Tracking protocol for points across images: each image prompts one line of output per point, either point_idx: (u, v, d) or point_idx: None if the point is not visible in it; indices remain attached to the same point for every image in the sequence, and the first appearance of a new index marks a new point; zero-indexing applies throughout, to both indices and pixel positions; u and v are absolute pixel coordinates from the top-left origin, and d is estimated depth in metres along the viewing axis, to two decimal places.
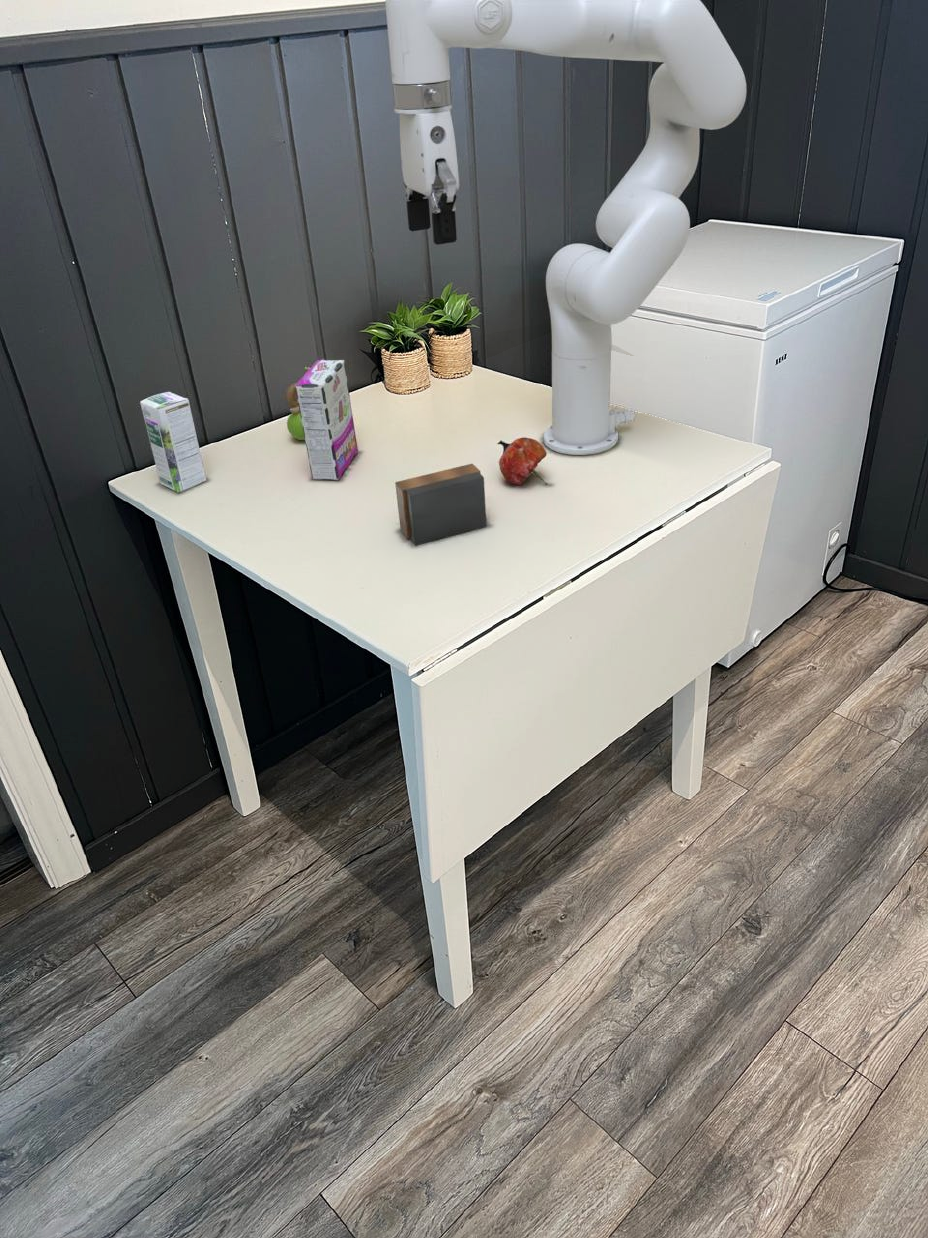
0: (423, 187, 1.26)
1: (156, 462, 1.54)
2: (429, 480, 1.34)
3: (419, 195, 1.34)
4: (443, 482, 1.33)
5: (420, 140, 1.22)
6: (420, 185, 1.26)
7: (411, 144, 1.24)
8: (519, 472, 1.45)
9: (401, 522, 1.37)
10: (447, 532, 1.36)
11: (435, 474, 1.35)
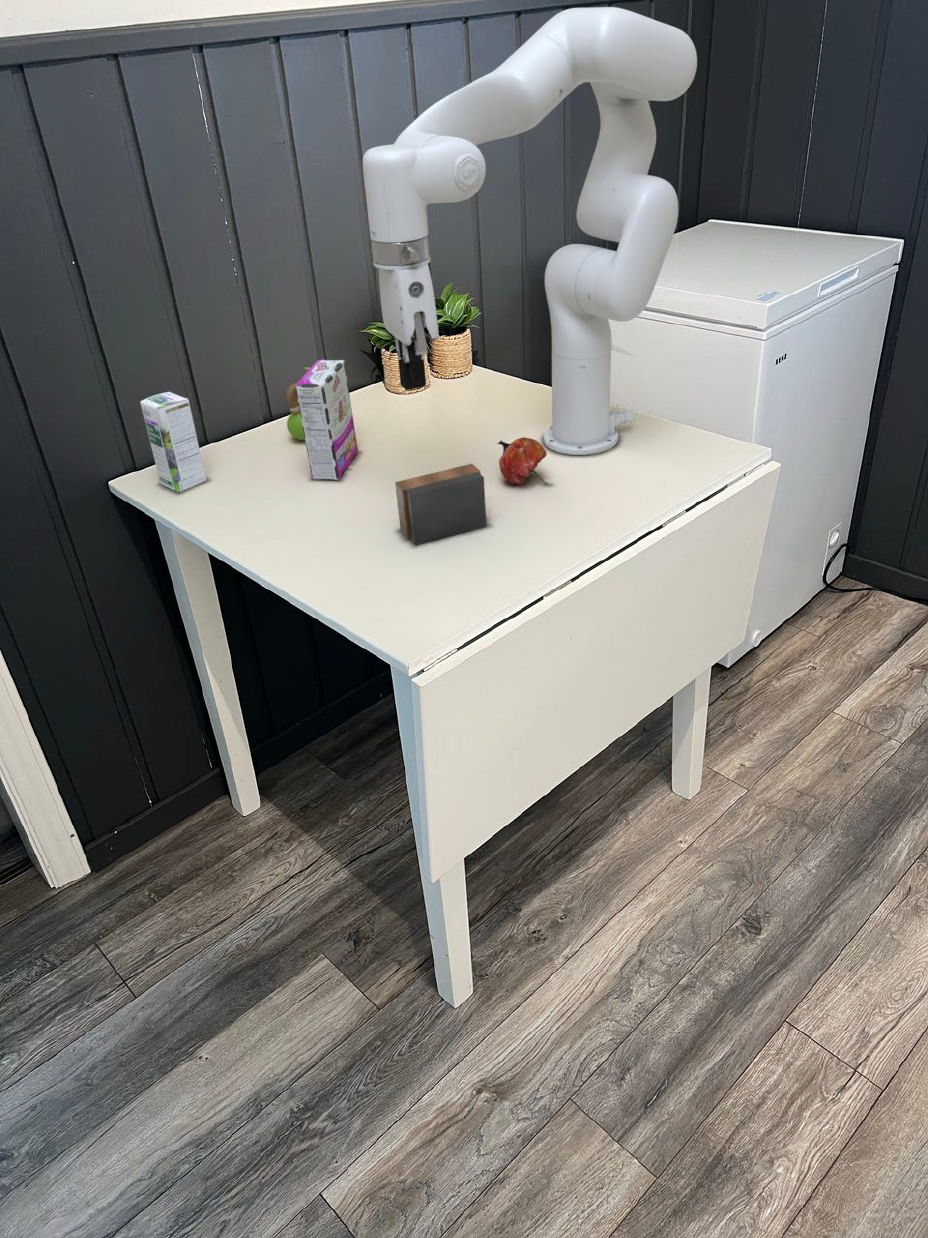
0: (402, 337, 1.26)
1: (156, 462, 1.54)
2: (429, 480, 1.34)
3: None
4: (443, 482, 1.33)
5: (399, 294, 1.22)
6: (399, 335, 1.26)
7: (390, 296, 1.24)
8: (519, 472, 1.45)
9: (401, 522, 1.37)
10: (447, 532, 1.36)
11: (435, 474, 1.35)
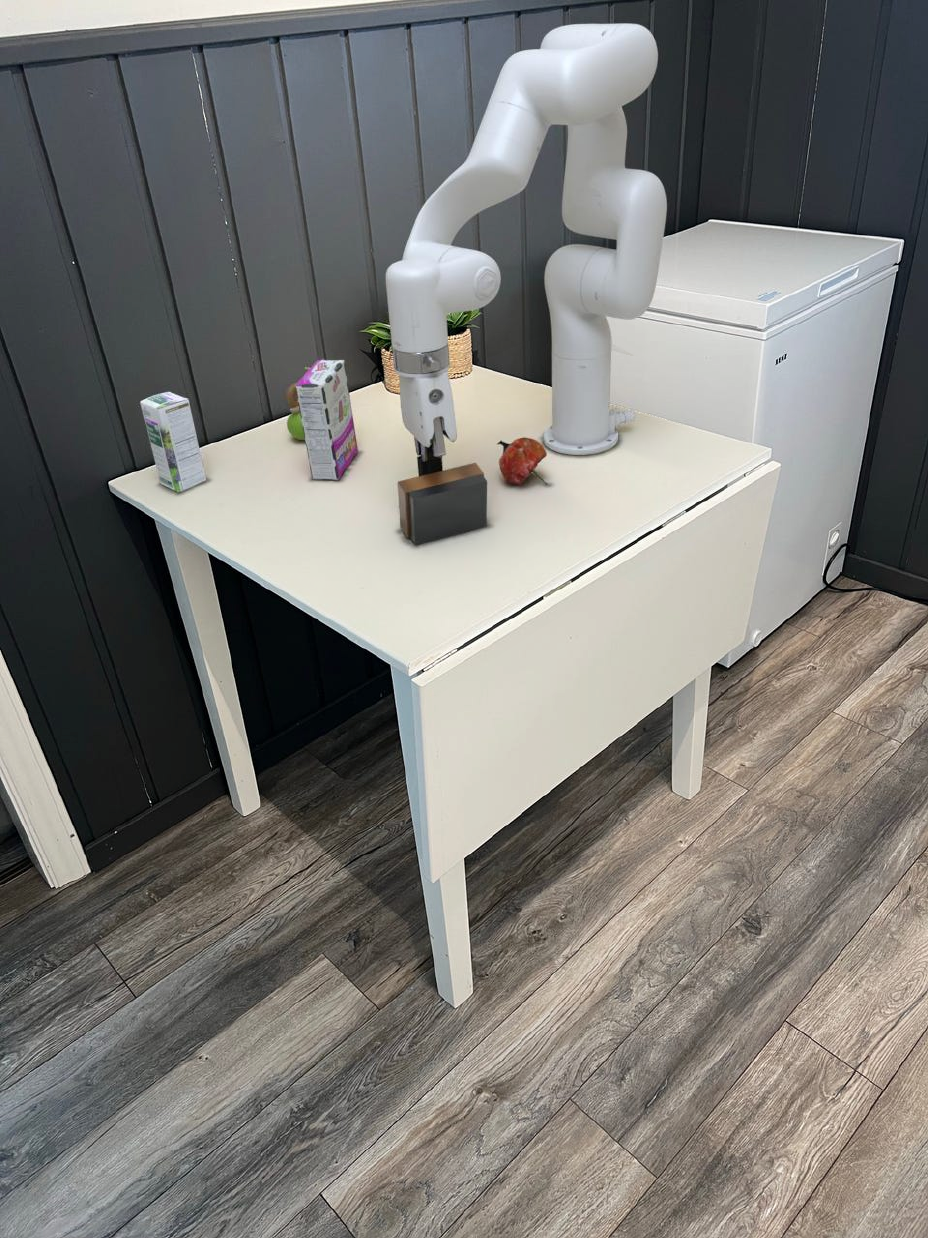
0: (422, 440, 1.29)
1: (156, 462, 1.54)
2: (432, 481, 1.32)
3: None
4: (446, 485, 1.32)
5: (419, 401, 1.26)
6: (418, 437, 1.30)
7: (410, 400, 1.28)
8: (519, 472, 1.45)
9: (401, 520, 1.36)
10: (447, 533, 1.36)
11: (438, 474, 1.34)
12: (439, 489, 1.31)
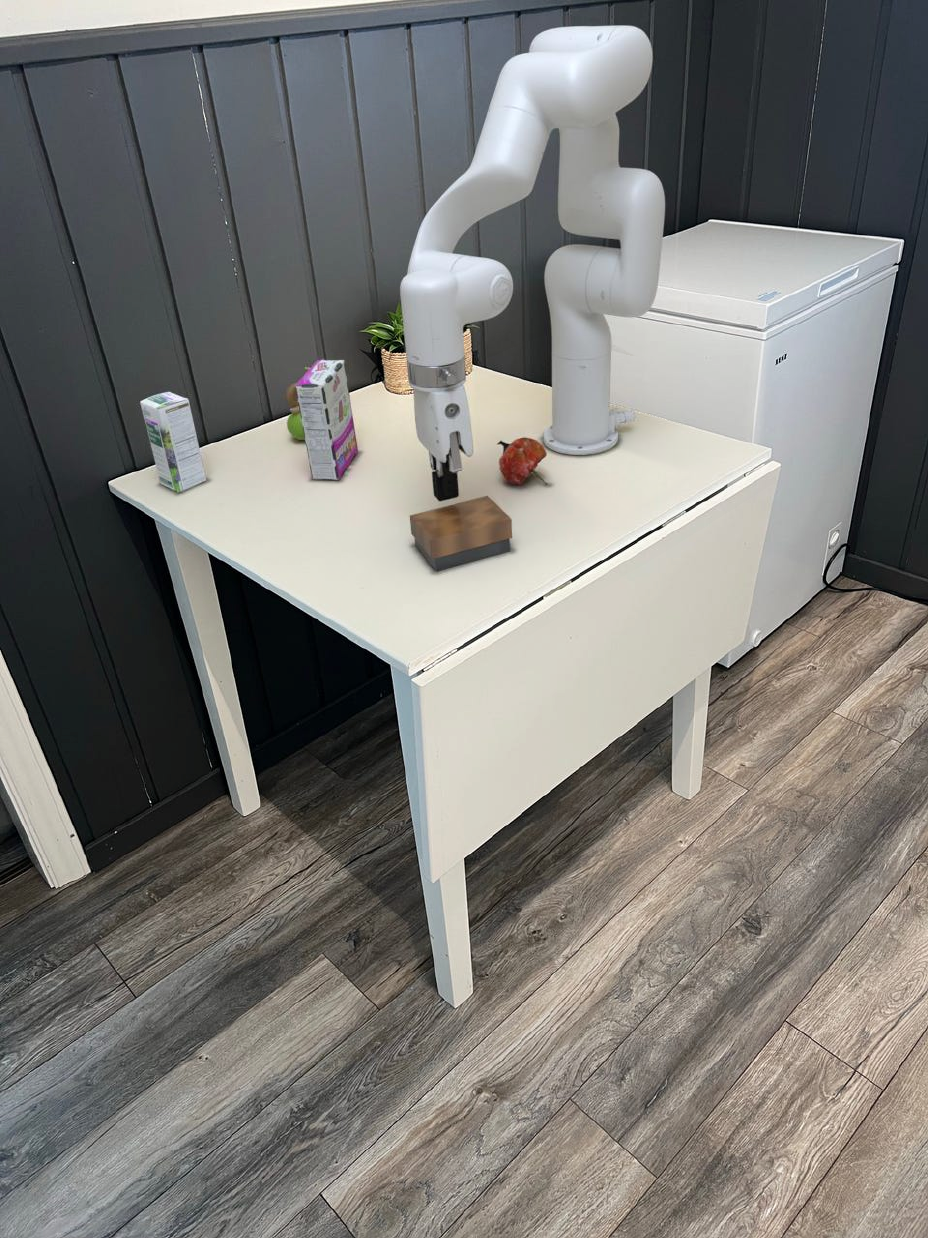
0: (437, 455, 1.25)
1: (156, 462, 1.54)
2: (462, 545, 1.28)
3: None
4: (472, 552, 1.29)
5: (435, 415, 1.22)
6: (434, 452, 1.26)
7: (425, 414, 1.24)
8: (519, 472, 1.45)
9: (414, 527, 1.31)
10: None
11: (471, 534, 1.28)
12: (464, 558, 1.29)
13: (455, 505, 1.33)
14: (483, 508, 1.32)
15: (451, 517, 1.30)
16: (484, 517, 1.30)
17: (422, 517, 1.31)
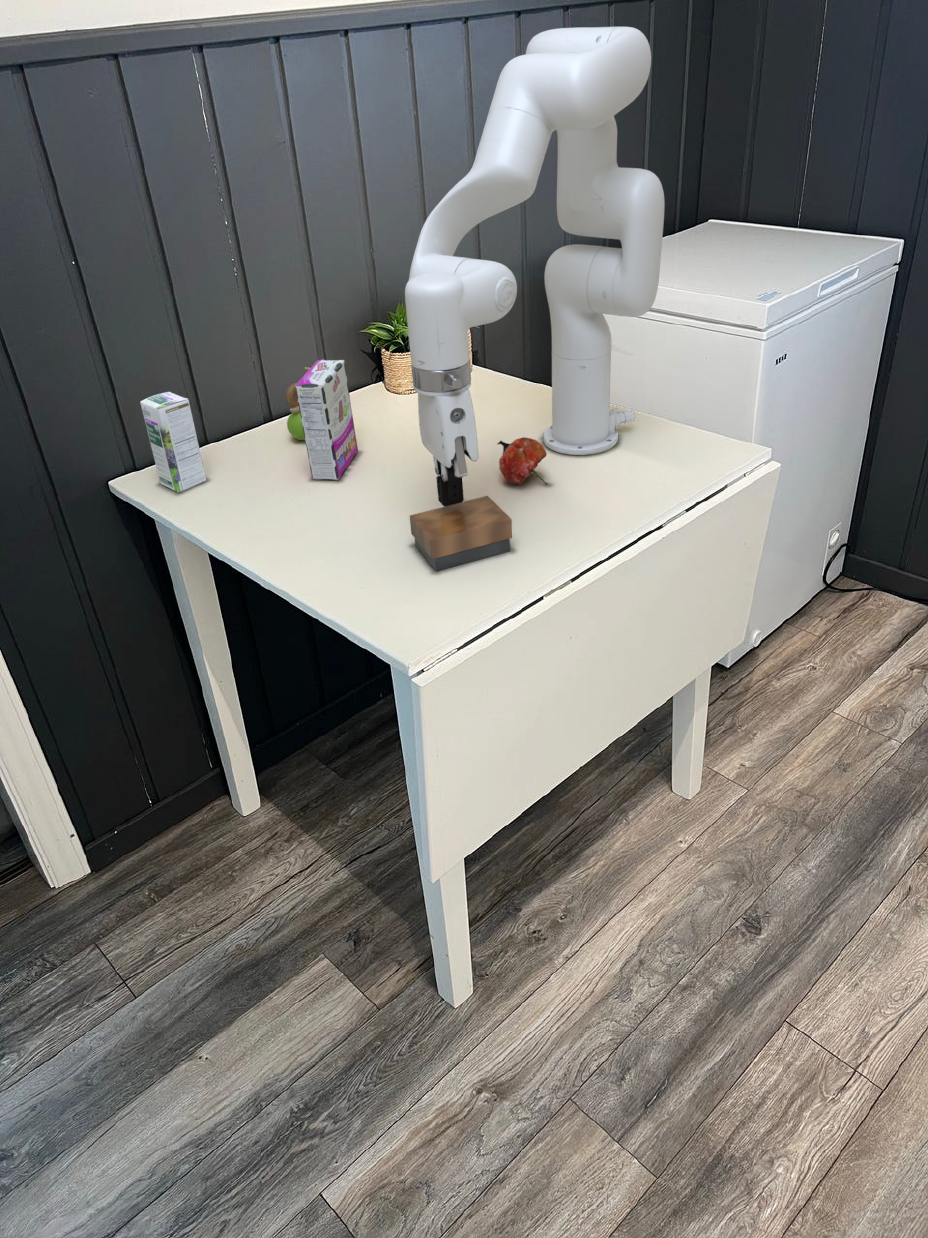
0: (442, 460, 1.24)
1: (156, 462, 1.54)
2: (462, 545, 1.28)
3: None
4: (472, 552, 1.29)
5: (440, 420, 1.21)
6: (439, 456, 1.25)
7: (430, 419, 1.23)
8: (519, 472, 1.45)
9: (414, 527, 1.31)
10: None
11: (471, 534, 1.28)
12: (464, 558, 1.29)
13: (455, 505, 1.33)
14: (483, 508, 1.32)
15: (451, 517, 1.30)
16: (484, 517, 1.30)
17: (422, 517, 1.31)
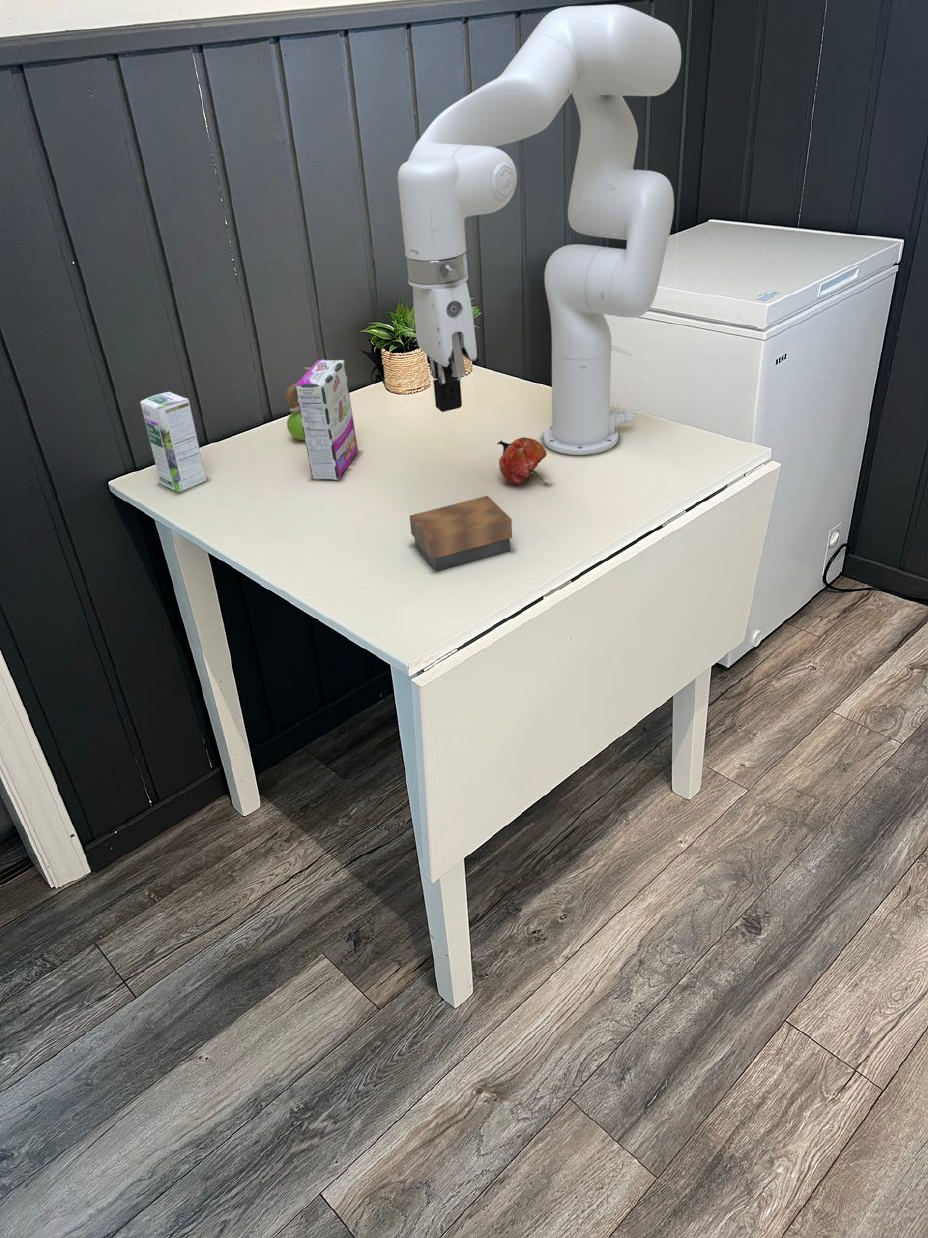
0: (439, 359, 1.20)
1: (156, 462, 1.54)
2: (462, 545, 1.28)
3: None
4: (472, 552, 1.29)
5: (436, 314, 1.16)
6: (435, 356, 1.21)
7: (426, 315, 1.19)
8: (519, 472, 1.45)
9: (414, 527, 1.31)
10: None
11: (471, 534, 1.28)
12: (464, 558, 1.29)
13: (455, 505, 1.33)
14: (483, 508, 1.32)
15: (451, 517, 1.30)
16: (484, 517, 1.30)
17: (422, 517, 1.31)
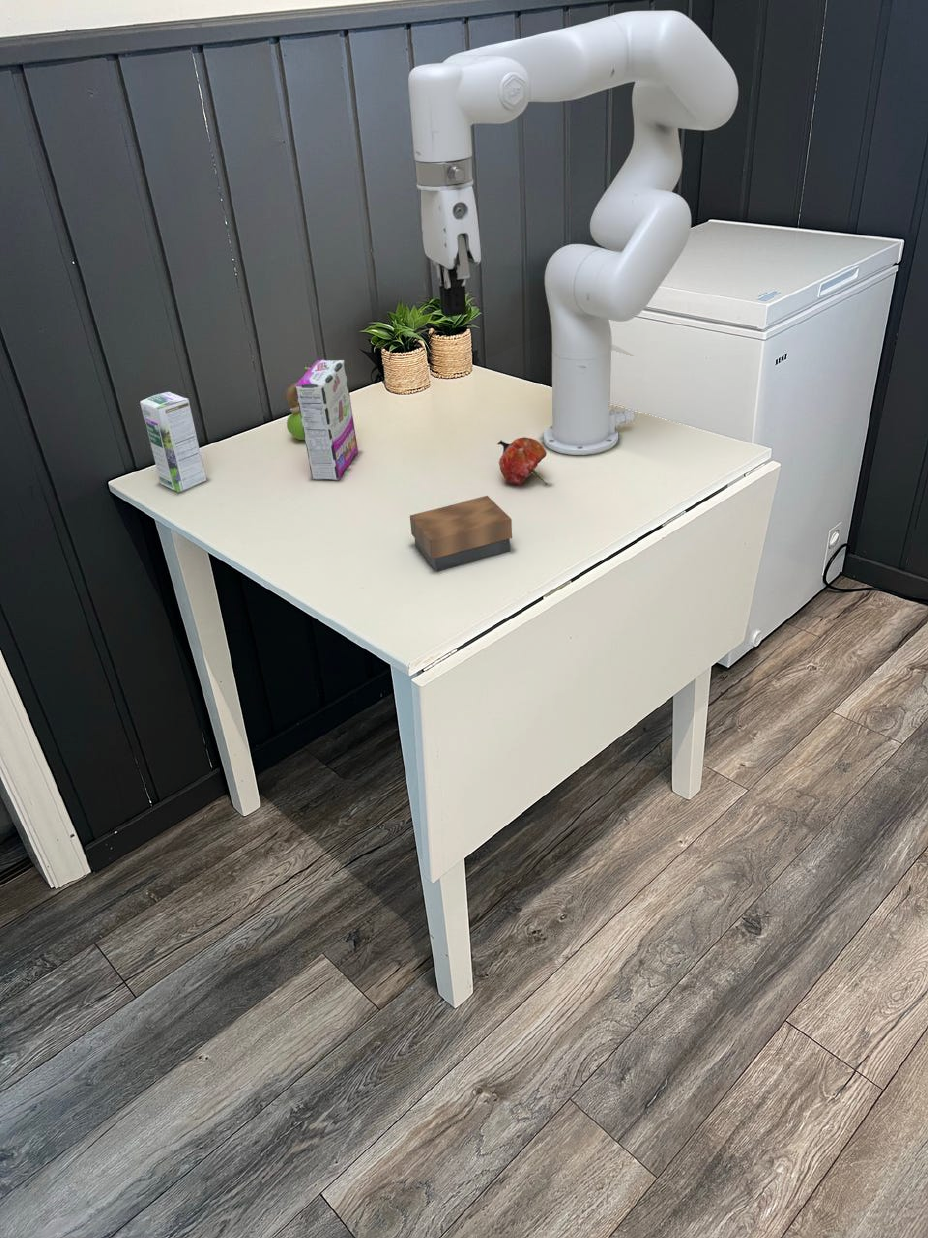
0: (445, 261, 1.26)
1: (156, 462, 1.54)
2: (462, 545, 1.28)
3: None
4: (472, 552, 1.29)
5: (443, 216, 1.22)
6: (441, 259, 1.27)
7: (433, 219, 1.25)
8: (519, 472, 1.45)
9: (414, 527, 1.31)
10: None
11: (471, 534, 1.28)
12: (464, 558, 1.29)
13: (455, 505, 1.33)
14: (483, 508, 1.32)
15: (451, 517, 1.30)
16: (484, 517, 1.30)
17: (422, 517, 1.31)
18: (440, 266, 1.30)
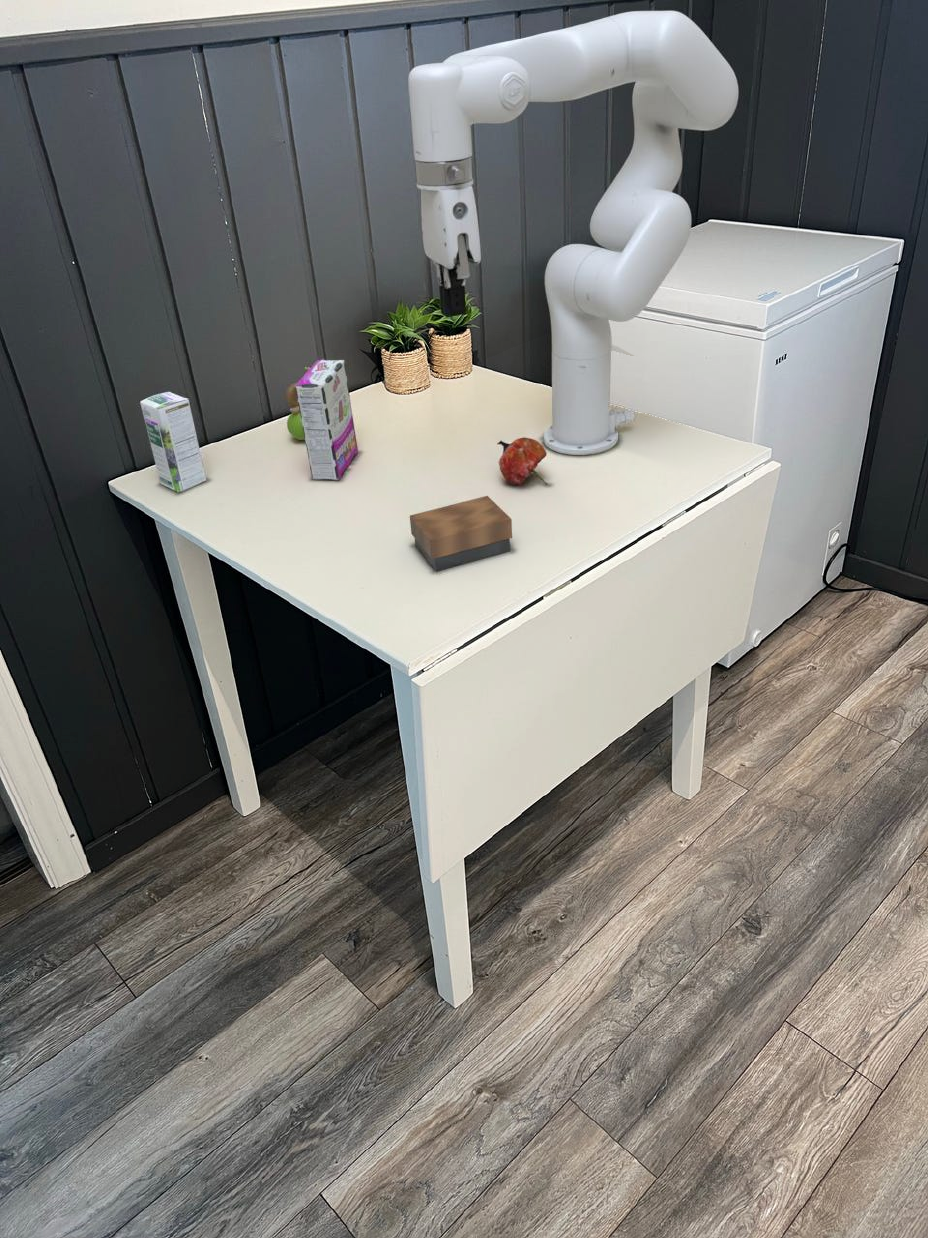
0: (445, 261, 1.26)
1: (156, 462, 1.54)
2: (462, 545, 1.28)
3: None
4: (472, 552, 1.29)
5: (443, 215, 1.22)
6: (441, 259, 1.27)
7: (433, 218, 1.25)
8: (519, 472, 1.45)
9: (414, 527, 1.31)
10: None
11: (471, 534, 1.28)
12: (464, 558, 1.29)
13: (455, 505, 1.33)
14: (483, 508, 1.32)
15: (451, 517, 1.30)
16: (484, 517, 1.30)
17: (422, 517, 1.31)
18: (440, 266, 1.30)
